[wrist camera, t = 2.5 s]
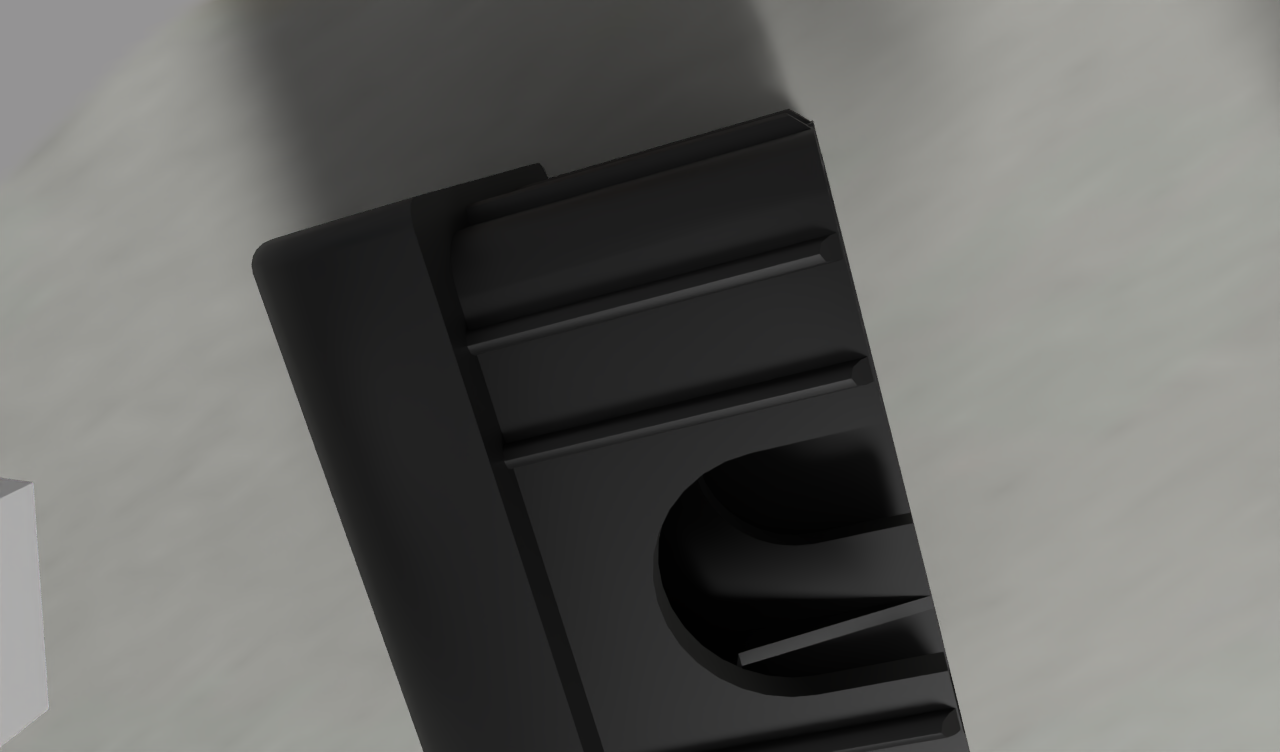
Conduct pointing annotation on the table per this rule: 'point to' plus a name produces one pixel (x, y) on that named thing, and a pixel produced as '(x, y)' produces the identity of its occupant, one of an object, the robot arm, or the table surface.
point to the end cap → (620, 457)
